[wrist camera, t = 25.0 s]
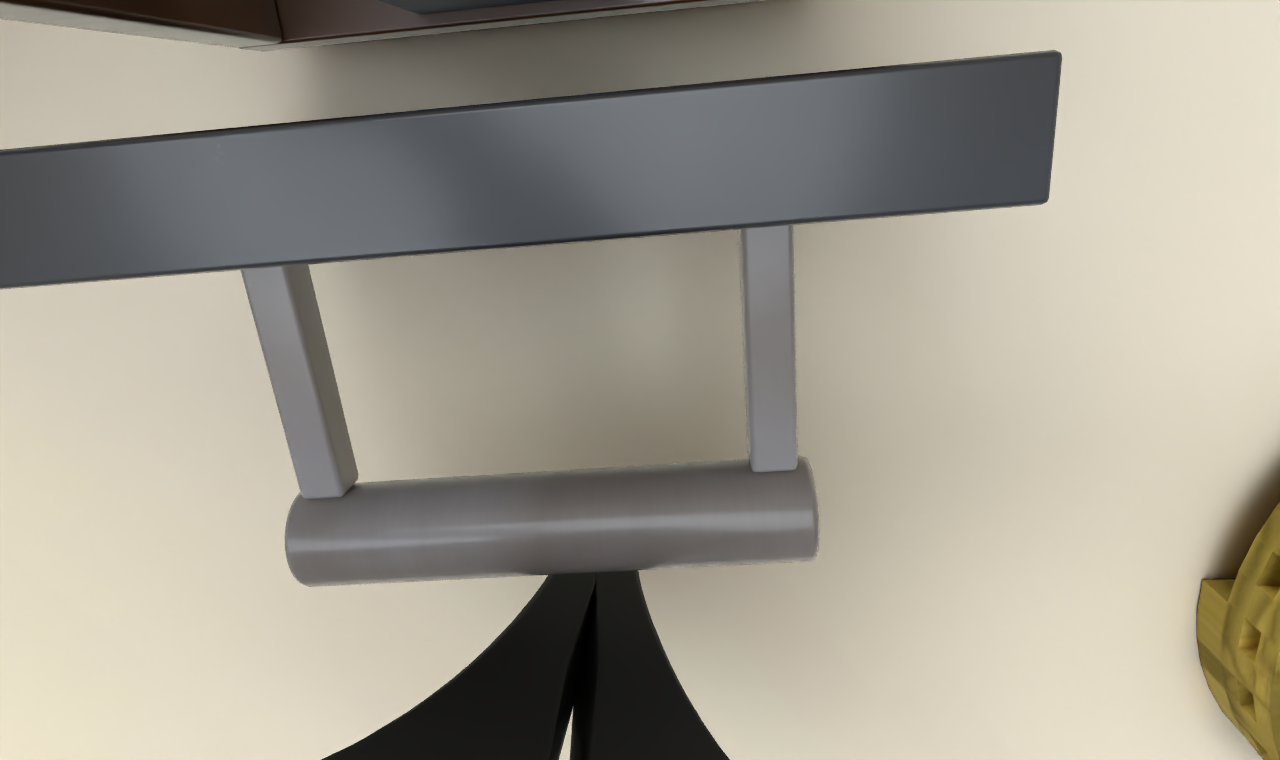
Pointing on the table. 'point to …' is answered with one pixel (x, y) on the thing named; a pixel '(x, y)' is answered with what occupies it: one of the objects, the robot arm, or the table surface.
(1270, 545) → the gold round disc
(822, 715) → the table surface
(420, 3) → the bundle
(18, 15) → the drawer
